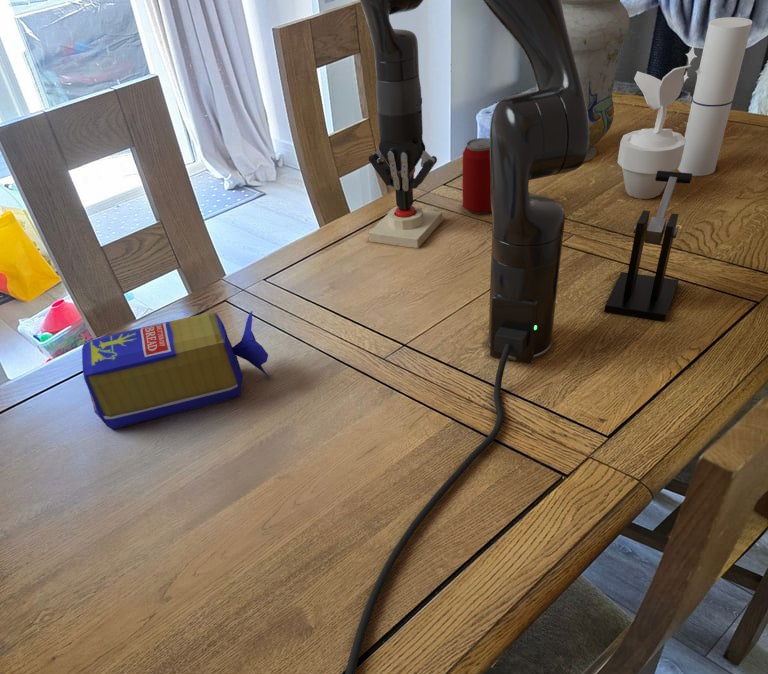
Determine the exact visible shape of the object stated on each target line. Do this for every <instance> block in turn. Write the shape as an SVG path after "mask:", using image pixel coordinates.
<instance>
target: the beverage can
mask: <svg viewBox="0 0 768 674" xmlns="http://www.w3.org/2000/svg"><path fill="white" fill-rule="evenodd" d="M462 207H463V208H464V209H465V210H466V211H467V212H469V213H471V214H478V215H479V214H480V215H481V214H485V213H489V212H492V211H491V170H490V137H489V138H488V137H479V138H473V139H470V140H468V141H467V142H466V146H465V148H464V150H463V152H462Z"/></svg>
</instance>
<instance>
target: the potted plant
mask: <svg viewBox="0 0 768 674" xmlns="http://www.w3.org/2000/svg"><path fill="white" fill-rule="evenodd" d="M685 55H686V57H687V60H688V61H687V62H688V64H687V65H684V66H678V67H675V68H672V69H671V71H669V72H668V73H667V74H665V75H664V76H663V77H662V79H659V78H657V77H655V76H653V75H650V74H649V73H645V72H641V71H638V70H637V71H636V74H635V75H634V77H633V80H634V82H635V84H636V85H637V87H638V88H639V89H640V91H641V93H642V94H643V97H644V99H645V102H646V104H647V106H648V107H650V109H652V110H653V111H654V110H657V114H656V120H655V124H654V127H652V128H651V127H650V128H641V129H637V130H633V131H631V132H627V133H626V134H624V135H623V136H622V138H621V139H620V143H619V144H620V145H619V148H618V149H619V150H618V155H617V164H618V165H619V166H620V167H621V168H622V175H623V176H622V177H623V182H624V189H625V192H626V194H627V195H628V196H630V197H632V198H634V199H639V200H648V199H649V200H650V199H653V198H655V197H658V196H660V195H661V194H662V192H663V191H664V188H665V187H666V185H667V183H668V182H662V181H655V179H656V174H657V171H670V172H674V170H676V169H678V167H679V166H680V163H681V160H682V155H683V151H684V146H685V141H686V138H685V136H683V134H681V132H677V131H673V128H663V127H664V124H665V121H666V117H667V113H668V111H667V110H668V109H667V106H669V105H672V104H673V103H674V102H676V100H677V99H678V98H679V97H680V95H681V93H682V89H683V87H684V83H685V82H686V80H687V79H689V78H690V77H689V76H688V71H686V69H689V68H691V67H692V64H691V63H692V61H693V59H694V58H698V55H696V54H695V43H692V47H691V49H690V50H689V52H688V53H685ZM685 71H686V72H685ZM695 72H696V78H697V77H698V75H699V73H701V72H702V71H701V70H700V66H699V67H698V68H697V69H696V70H695Z"/></svg>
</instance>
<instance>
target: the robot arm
mask: <svg viewBox="0 0 768 674" xmlns="http://www.w3.org/2000/svg"><path fill="white" fill-rule="evenodd" d="M359 2H360V5H361V9H362V12H363V14H364V17H365V20H366V23H367V27H368V31H369V34H370V38H371V42H372V47H373V52H374V62H375V63H374V64H375V76H376V78H375V79H376V83H375V85H376V87H375V97H376V109H377V111H376V112H377V122H378V123H377V124H378V134H379V139H380V140H379V142H378V149H377V150H374V152H373V153H371V154H370V155H369V156H368V161H369V162H370V164H371V166H372V167H373V169H374V170H375V171H376V173H377V174H378V176H379V177H380V178H381V180H382V181H383V183H384V184H385V185H386V186H387V187H389V186H390V187H393V189H394V190H395V191H394V192H395V203H396V207H399V210H403V211H408V210H409V208H410V207H411V206H414V205H413V204H414V193H413V192H414V190H415V189H417V188H418V187H419V186H420V185H421V184H422V183H423V182H424V180H426V178H427V177H428V175H429V174H430V172H431V170H432V169H433V168H434V167H435V165H436V163H437V162H438V158H437V156H435V155H432V156H431V155H430V154H429V153H428V152H427V151H426V145H425V143H424V140H423V133H424V132H423V131H424V129H423V105H422V104H423V97H422V86H421V79H420V65H419V64H420V63H419V62H420V61H419V43H418V38H417V35H416V34H415V33H414V32H413V31H411V30H408V29H400V28H399V29H398V28H393V26H392V24H391V20H390V16H391V15H397V14H401V13H407V12H410V11H414V10H416V9H417V8H419V7H420V6H421V5H422V3H423V2H424V0H359ZM482 2H483V3H484V5H485V6H486V7H487V9H488V10H489V11H490V12H491V14H492V15H493V16H494V17H495V19H496V20H497V21H498V22H499V24H500V25H501V26H502V27H503V28H504V29H505V30H506V31H507V32H508V34H509V35H510V36H511V37H512V39H513V40H514V41H515V42H516V43H517V44H518V46H519V48H520V49H521V51H522V52H523V54H524V55H525V57H526V59H527V62H528V63H529V65H530V68H531V70H532V74H533V76H534V79H535V84H536V83H537V87H538V90H539V91H536V90H535V91H530V92H525V93H521V94H519V93H518V94H515V95H509V96H506V97H504V98H501V99H500V100H499V101H498V102H497V103H496V105H495V107H494V108H493V111H492V114H491V118H490V126H489V139H490V170H491V211H490V212H491V220H492V221H491V222H492V223H491V225H492V226H491V254H490V255H491V257H490V283H489V284H490V285H489V310H488V311H489V312H488V313H489V314H488V336H487V347H488V349H489V357H493V358H497V359H499V362H498V365H497V370H496V374H495V378H494V379H495V380H494V386H493V387H494V388H493V402H494V409H495V413H496V419H495V420H496V421H495V424H494V426H493V428H492V430H491V432H489V435H488V436H487V437H486V438H485V439H484V440H483V441H482V442H481V443H480V444H479V445H478V446H476V448H475V449H474V450H473V451H472V452H471V453H470V454H469V455H468V456H467V457H466V458H465V460H464V461H463V462H462V463H461V464H460V465H459V466H458V467H457V469H456V470H455V471H454V472H453V473H452V474H451V475H450V476H449V478H447V480H446V481H445V482H444V483H443V484H442V485H441V486H440V487H439V488H438V489H437V491H436V492H435V494H434V495H432V497H431V498H430V500H429V501H428V502H427V503H426V504H425V506H423V508H422V509H421V510H420V511H419V513H418V514H417V516H416V517H415V518H414V519H413V521H412V522H411V523H410V525H409V526H408V527H407V529H406V530H405V532H404V533H403V534H402V536H401V538H400V539H399V541H398V542H397V544H396V546H394V548H393V550H392V552H391V553H390V555H389V556H388V558H387V560H386V561H385V563H384V566H383V567H382V569H381V571H380V573H379V575H378V577H377V579H376V581H375V583H374V585H373V588H372V590H371V592H370V594H369V597H368V599H367V600H366V601H367V602H366V604H365V606H364V609H363V611H362V615H361V616H360V620H359V623H358V626H357V630H356V632H355V636H354V640H353V643H352V647H351V650H350V654H349V657H348V661H347V664H346V669H345V673H344V674H356V671H357V666H358V663H359V658H360V654H361V650H362V649H363V648H362V647H363V644H364V641H365V637H366V633H367V630H368V627H369V623H370V621H371V617H372V615H373V613H374V610H375V608H376V604H377V602H378V599H379V597H380V595H381V593H382V590H383V588H384V586H385V583H386V582H387V579H388V577H389V575H390V573H391V571H392V569H393V568H394V566H395V565H396V562H397V560H398V559H399V557H400V556H401V554H402V552H403V551H404V549H405V548H406V547H407V544H408V543H409V541H410V540H411V538H412V537H413V535H414V534H415V533H416V531H417V530H418V528H419V527H420V526H421V524H422V523H423V522H424V520H425V519H426V518H427V516H428V515H429V514H430V513H431V511H433V509H434V508H435V507H436V505H437V504H438V503H439V502H440V501H441V499H442V498H443V497H444V496H445V495H446V493H447V492H448V491H449V490H450V489H451V488H452V486H453V485H454V484H455V483H457V481H458V480H459V479H460V477H462V476H463V474H464V473H465V472H466V471H467V470H468V469H469V467H470V466H471V465H472V464H473V463H474V462H475V460H476V459H478V457H479V456H480V455H482V453H484V452H485V451H486V450H487V449H488V447H490V445H491V444H492V443H493V442H494V441H495V440H496V438H497V437H498V435H499V434H500V433H501V429H502V428H503V424H504V419H505V415H504V409H503V405H502V398H501V393H502V383H503V377H504V372H505V368H506V364H507V361H508V360H509V361H513V362H520V363H525V364H531V363H532V362H533V361H534V360H536V359H540V358H541V357H543V356H545V355H546V354H547V353H549V351H550V350H551V349H552V346H553V330H554V323H555V312H556V304H557V303H556V302H557V294H558V287H559V286H558V285H559V276H560V268H561V258H562V250H563V241H564V231H565V223H566V211H565V209H564V207H563V205H562V204H561V203H559V201H557V200H555V199H553V198H551V197H548V196H546V195H541V194H538V193H537V194H536V193H531V192H529V181H532V180H533V181H534V180H538V179H542V178H546V177H547V178H548V177H552V176H557V175H562V174H566V173H570V172H572V171H575V170H578V169H579V168H580V167H581V166H582V165H583V164H584V163H585V162H584V160H585V158H586V156H587V153H588V149H589V139H590V129H589V117H588V111H587V106H586V101H585V97H584V93H583V89H582V85H581V81H580V77H579V73H578V69H577V66H576V62H575V58H574V54H573V50H572V47H571V43H570V39H569V35H568V31H567V26H566V22H565V18H564V13H563V7H562V2H561V0H482ZM420 160H421V161H420ZM419 162H420V167H422V168H421V169H420V171H419V172H418V173H417V174H416V176H415V172H416V167H417V165H418V163H419Z"/></svg>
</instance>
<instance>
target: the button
mask: <svg viewBox="0 0 768 674" xmlns="http://www.w3.org/2000/svg"><path fill="white" fill-rule="evenodd" d="M413 206H414V205H412V206H411V207H410V208H409V210H408V211H403V210H399V207H398V208H397V209H396V216H397V217H401V218H406V217H411V216H414V215H415V208H414V207H413Z"/></svg>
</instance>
